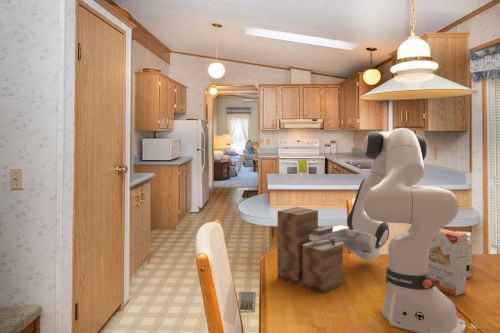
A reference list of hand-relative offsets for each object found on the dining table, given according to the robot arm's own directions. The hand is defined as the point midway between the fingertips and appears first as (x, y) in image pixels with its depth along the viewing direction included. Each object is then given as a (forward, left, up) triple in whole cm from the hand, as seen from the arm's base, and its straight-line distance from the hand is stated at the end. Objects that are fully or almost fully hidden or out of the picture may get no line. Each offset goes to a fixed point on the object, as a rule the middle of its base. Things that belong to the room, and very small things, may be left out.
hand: (339, 229), depth 142 cm
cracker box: (-32, -17, -19) cm, 41 cm away
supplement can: (-32, -35, -19) cm, 51 cm away
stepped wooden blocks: (+6, +11, -19) cm, 23 cm away
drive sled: (0, +6, -1) cm, 6 cm away
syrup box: (-30, -47, -19) cm, 59 cm away
